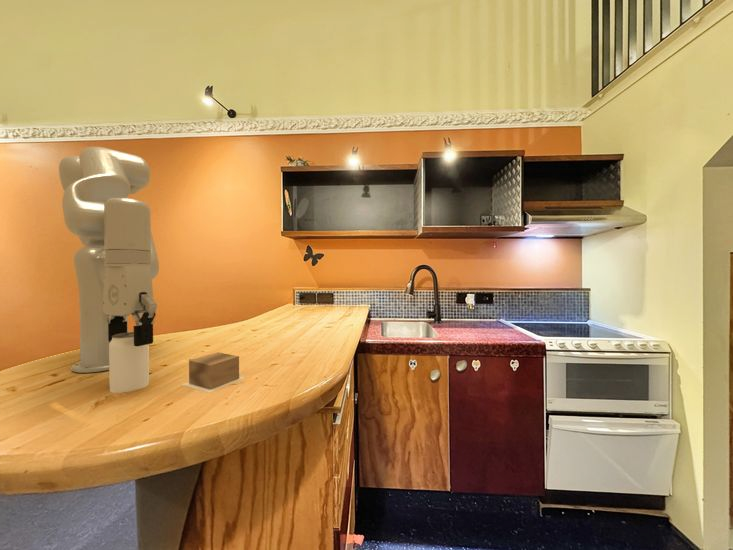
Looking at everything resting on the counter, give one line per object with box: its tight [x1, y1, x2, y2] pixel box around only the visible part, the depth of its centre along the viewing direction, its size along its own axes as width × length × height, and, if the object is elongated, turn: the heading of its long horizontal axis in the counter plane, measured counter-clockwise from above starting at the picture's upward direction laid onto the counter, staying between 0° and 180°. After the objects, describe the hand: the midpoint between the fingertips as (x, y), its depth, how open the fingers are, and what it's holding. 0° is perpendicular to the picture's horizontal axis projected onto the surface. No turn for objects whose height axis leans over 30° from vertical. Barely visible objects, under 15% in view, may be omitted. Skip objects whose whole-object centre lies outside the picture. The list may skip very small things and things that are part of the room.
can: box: [108, 331, 150, 394], centre depth 62 cm, size 6×6×12 cm
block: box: [188, 352, 240, 390], centre depth 65 cm, size 7×7×5 cm
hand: (130, 342), depth 61 cm, fingers open, 9 cm apart
